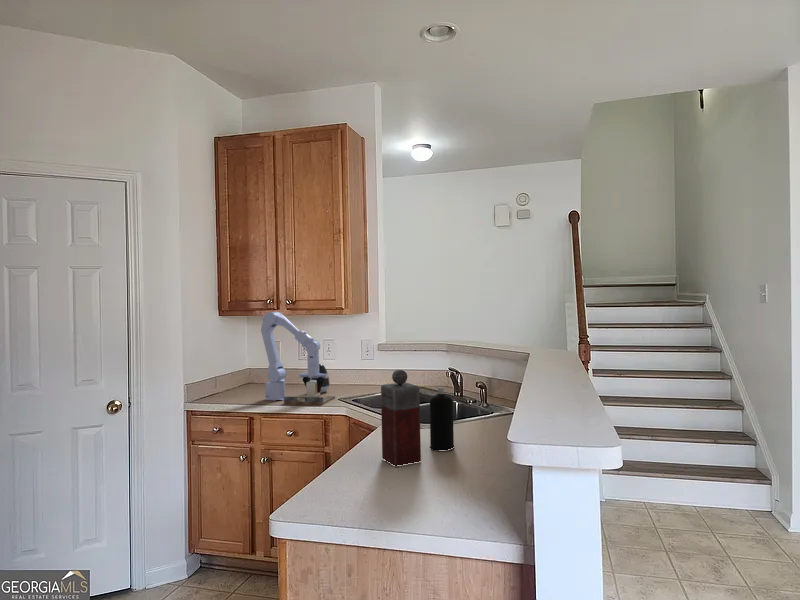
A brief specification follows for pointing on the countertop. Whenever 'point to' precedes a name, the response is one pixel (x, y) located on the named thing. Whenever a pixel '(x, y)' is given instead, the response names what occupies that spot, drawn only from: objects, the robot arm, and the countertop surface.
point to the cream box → (311, 389)
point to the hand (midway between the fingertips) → (313, 392)
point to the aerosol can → (441, 421)
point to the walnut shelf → (308, 399)
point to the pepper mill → (400, 421)
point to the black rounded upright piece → (326, 380)
